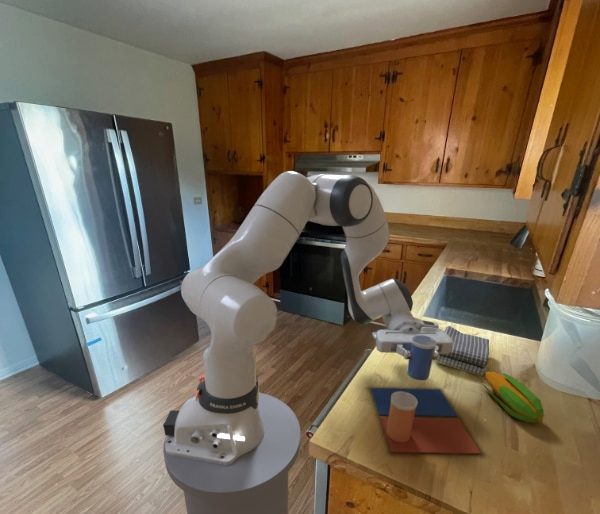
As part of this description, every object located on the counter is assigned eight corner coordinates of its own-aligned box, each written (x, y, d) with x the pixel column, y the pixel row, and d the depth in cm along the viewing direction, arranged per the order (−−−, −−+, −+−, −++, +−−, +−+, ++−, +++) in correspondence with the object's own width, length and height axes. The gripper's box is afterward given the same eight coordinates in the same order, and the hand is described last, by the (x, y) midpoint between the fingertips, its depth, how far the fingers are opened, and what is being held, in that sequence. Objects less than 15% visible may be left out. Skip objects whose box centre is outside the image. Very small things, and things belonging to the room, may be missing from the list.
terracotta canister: (389, 442, 76) (394, 407, 72) (383, 424, 81) (388, 391, 77) (414, 443, 76) (421, 408, 72) (406, 424, 81) (412, 391, 77)
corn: (531, 405, 77) (478, 360, 96) (520, 431, 80) (470, 382, 98) (558, 405, 78) (500, 360, 97) (546, 430, 81) (492, 382, 100)
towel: (432, 365, 107) (437, 344, 104) (440, 341, 122) (444, 322, 119) (485, 379, 100) (491, 357, 97) (486, 352, 115) (491, 332, 112)
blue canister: (410, 380, 83) (416, 346, 79) (403, 367, 89) (408, 334, 85) (432, 381, 83) (440, 346, 79) (424, 368, 89) (431, 335, 85)
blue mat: (379, 415, 84) (379, 414, 84) (370, 388, 95) (370, 388, 94) (456, 416, 85) (456, 415, 84) (439, 390, 95) (440, 389, 95)
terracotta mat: (391, 452, 73) (391, 451, 73) (380, 418, 83) (380, 417, 83) (480, 454, 73) (480, 453, 73) (458, 419, 84) (458, 418, 84)
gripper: (371, 321, 94) (383, 345, 82) (442, 322, 95) (464, 347, 82) (369, 340, 97) (380, 367, 84) (438, 342, 97) (459, 368, 84)
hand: (422, 357), depth 83 cm, fingers closed on blue canister, 5 cm apart
